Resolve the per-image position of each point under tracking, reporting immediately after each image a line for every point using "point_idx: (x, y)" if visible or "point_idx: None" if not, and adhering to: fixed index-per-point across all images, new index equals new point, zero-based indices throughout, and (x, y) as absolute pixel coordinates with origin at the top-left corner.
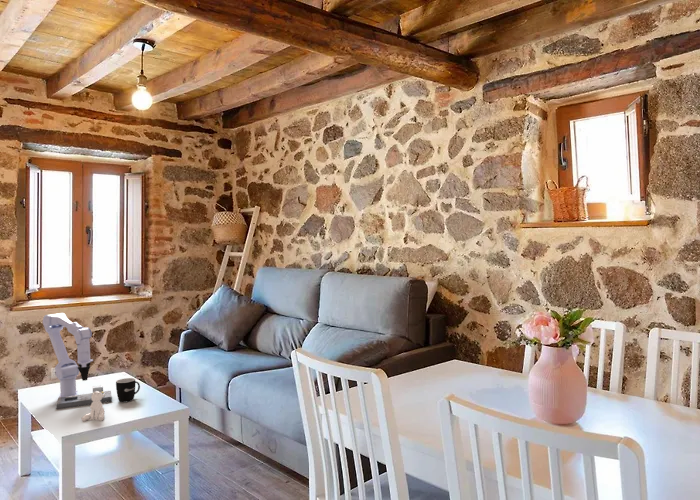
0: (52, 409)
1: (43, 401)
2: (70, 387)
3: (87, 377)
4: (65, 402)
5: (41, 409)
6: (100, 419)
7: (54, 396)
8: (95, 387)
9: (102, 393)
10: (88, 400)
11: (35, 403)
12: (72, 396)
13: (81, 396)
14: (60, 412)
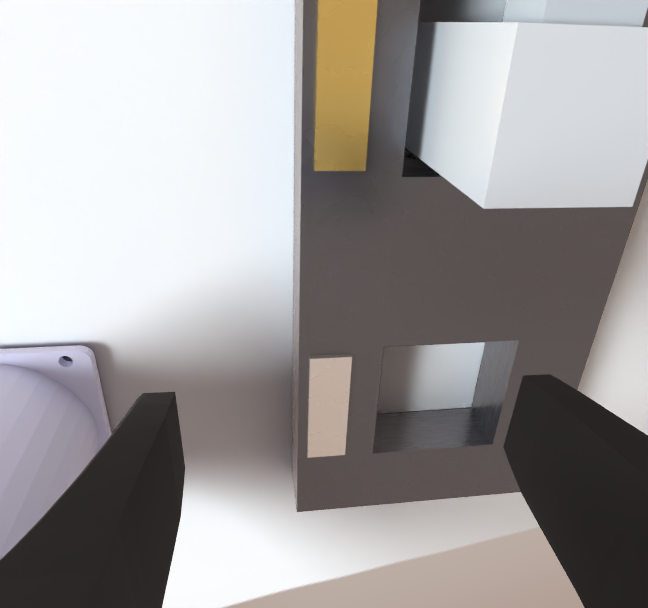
0: None
1: (171, 571)
2: (54, 485)
3: (602, 407)
4: None
5: (432, 541)
6: None
7: None
8: (622, 155)
9: (418, 5)
10: (626, 216)
11: (210, 604)
12: (348, 399)
13: (403, 306)
14: (637, 415)
